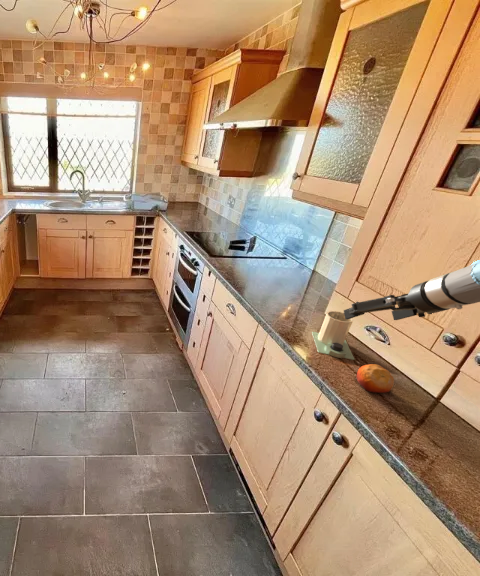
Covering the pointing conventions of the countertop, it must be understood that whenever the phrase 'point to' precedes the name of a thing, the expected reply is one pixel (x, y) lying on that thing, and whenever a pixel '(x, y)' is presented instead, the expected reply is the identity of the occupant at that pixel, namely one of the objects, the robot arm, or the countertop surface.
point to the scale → (327, 349)
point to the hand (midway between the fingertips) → (369, 315)
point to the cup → (334, 328)
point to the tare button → (337, 347)
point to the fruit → (375, 378)
